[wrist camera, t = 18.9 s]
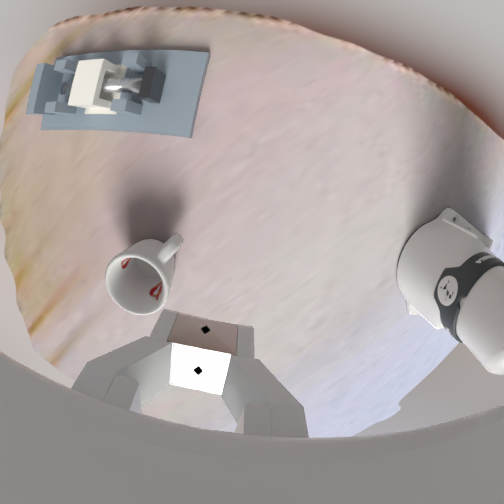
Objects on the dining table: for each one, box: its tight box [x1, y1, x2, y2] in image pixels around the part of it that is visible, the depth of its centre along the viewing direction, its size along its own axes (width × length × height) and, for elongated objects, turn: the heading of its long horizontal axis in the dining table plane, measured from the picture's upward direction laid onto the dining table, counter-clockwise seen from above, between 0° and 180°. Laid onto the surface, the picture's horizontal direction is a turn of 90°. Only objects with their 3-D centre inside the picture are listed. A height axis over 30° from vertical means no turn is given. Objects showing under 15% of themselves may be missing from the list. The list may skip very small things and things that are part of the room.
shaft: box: [60, 66, 166, 103], centre depth 25 cm, size 14×4×4 cm, turn 79°
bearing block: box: [26, 50, 210, 138], centre depth 25 cm, size 23×11×6 cm, turn 79°
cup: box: [105, 233, 183, 315], centre depth 33 cm, size 11×8×8 cm
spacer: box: [68, 59, 122, 109], centre depth 24 cm, size 4×6×5 cm, turn 168°
